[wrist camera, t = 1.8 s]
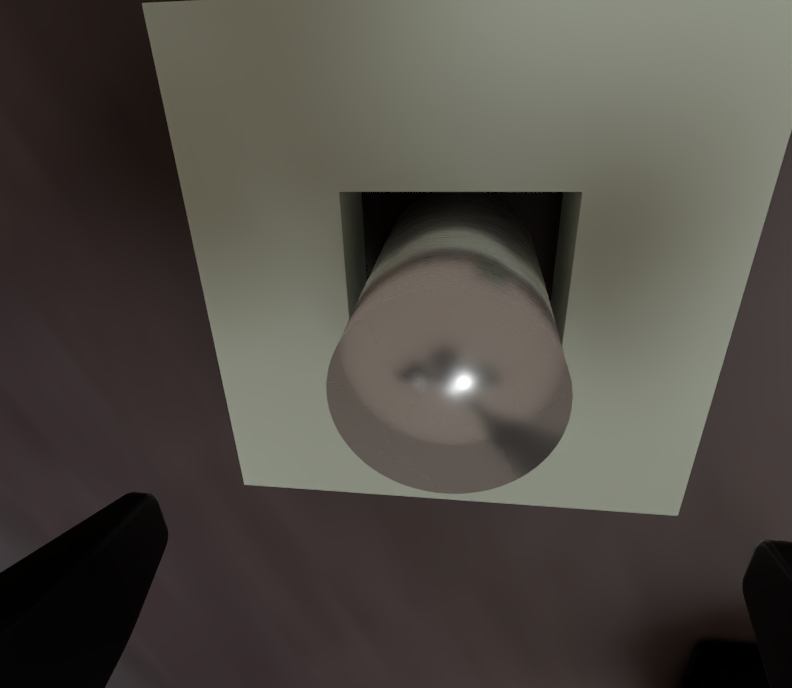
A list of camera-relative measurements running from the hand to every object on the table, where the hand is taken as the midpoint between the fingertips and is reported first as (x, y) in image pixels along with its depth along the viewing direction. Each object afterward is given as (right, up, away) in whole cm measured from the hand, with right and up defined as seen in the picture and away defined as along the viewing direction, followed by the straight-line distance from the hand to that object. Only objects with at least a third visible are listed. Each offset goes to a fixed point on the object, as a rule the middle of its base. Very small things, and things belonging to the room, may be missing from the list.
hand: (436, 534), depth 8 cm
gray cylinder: (+1, +6, +10) cm, 11 cm away
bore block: (+1, +5, +10) cm, 11 cm away
